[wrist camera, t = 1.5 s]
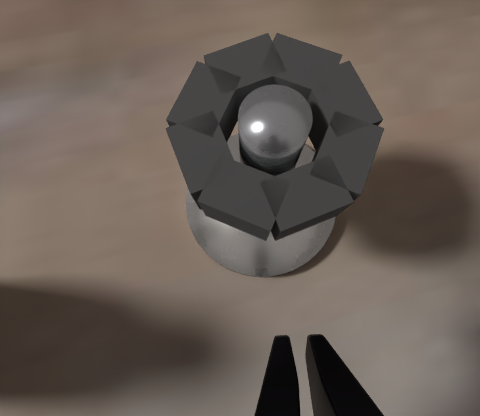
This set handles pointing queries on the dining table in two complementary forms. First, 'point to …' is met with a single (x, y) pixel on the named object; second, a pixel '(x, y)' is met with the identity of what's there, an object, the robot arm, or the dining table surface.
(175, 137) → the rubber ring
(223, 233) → the pipe stand
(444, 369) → the dining table surface
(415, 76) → the dining table surface
